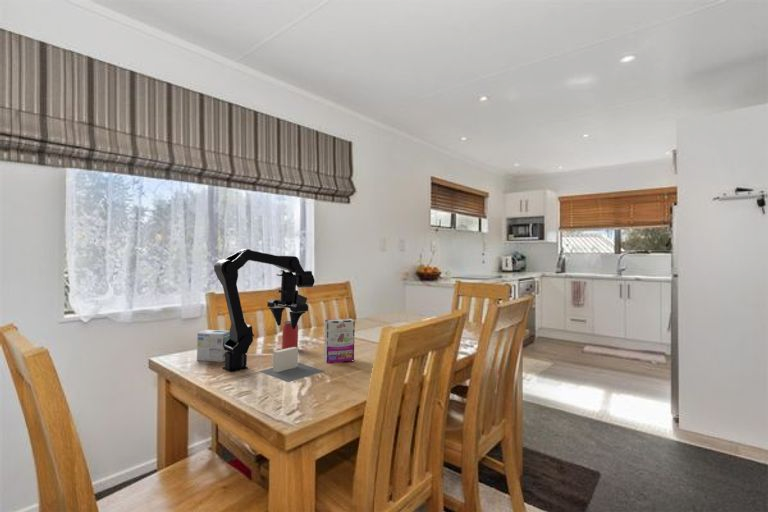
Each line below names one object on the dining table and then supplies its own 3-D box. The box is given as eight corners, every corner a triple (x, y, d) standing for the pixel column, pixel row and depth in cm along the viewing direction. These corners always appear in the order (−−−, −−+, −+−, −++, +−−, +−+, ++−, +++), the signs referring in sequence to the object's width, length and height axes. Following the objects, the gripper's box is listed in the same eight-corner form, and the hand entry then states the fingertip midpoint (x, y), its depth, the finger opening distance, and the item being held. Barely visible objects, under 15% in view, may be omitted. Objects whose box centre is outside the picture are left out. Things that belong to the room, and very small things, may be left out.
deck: (276, 372, 133) (277, 352, 133) (272, 370, 135) (273, 351, 135) (297, 366, 140) (298, 347, 140) (293, 365, 142) (293, 346, 142)
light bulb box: (231, 357, 150) (232, 330, 150) (222, 362, 144) (223, 334, 144) (205, 356, 151) (206, 329, 151) (195, 360, 145) (196, 332, 145)
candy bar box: (350, 358, 154) (351, 318, 154) (354, 361, 150) (355, 320, 150) (323, 360, 150) (324, 319, 150) (326, 364, 146) (327, 321, 145)
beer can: (295, 352, 161) (296, 323, 161) (279, 351, 161) (280, 323, 161) (299, 348, 168) (300, 321, 168) (284, 347, 168) (285, 320, 168)
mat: (287, 383, 124) (287, 382, 124) (259, 372, 134) (259, 371, 134) (324, 371, 136) (324, 371, 136) (296, 362, 146) (296, 361, 146)
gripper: (319, 289, 151) (317, 328, 151) (289, 285, 162) (287, 321, 162) (297, 290, 142) (295, 331, 142) (267, 285, 154) (265, 324, 153)
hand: (286, 327), depth 150 cm, fingers open, 9 cm apart
